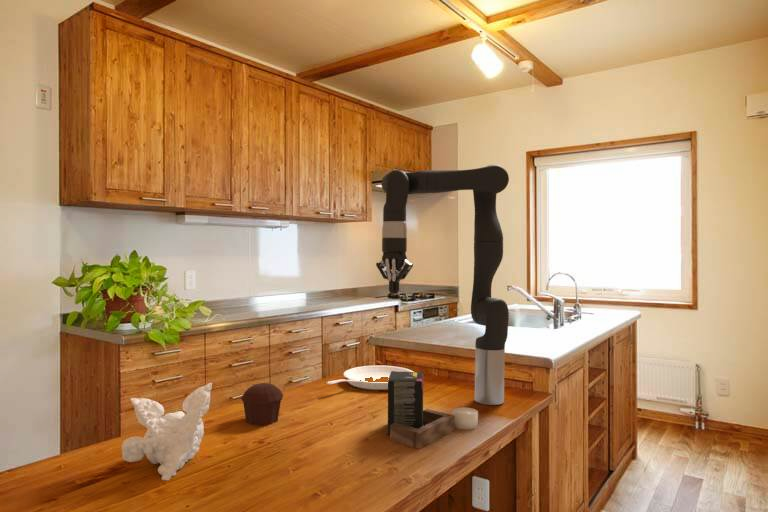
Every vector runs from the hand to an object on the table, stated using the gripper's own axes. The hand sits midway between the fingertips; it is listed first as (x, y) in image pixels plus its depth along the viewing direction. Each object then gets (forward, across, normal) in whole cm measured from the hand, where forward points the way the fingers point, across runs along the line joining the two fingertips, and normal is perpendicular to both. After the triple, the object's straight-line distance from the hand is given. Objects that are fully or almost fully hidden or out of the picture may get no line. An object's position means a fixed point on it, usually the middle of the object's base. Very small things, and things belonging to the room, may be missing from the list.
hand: (393, 293), depth 159 cm
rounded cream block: (+35, -25, 0) cm, 43 cm away
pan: (+36, +22, -15) cm, 44 cm away
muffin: (+35, +21, +33) cm, 53 cm away
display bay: (+35, -20, +14) cm, 43 cm away
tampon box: (+35, -14, +14) cm, 40 cm away
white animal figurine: (+35, +14, +65) cm, 75 cm away
